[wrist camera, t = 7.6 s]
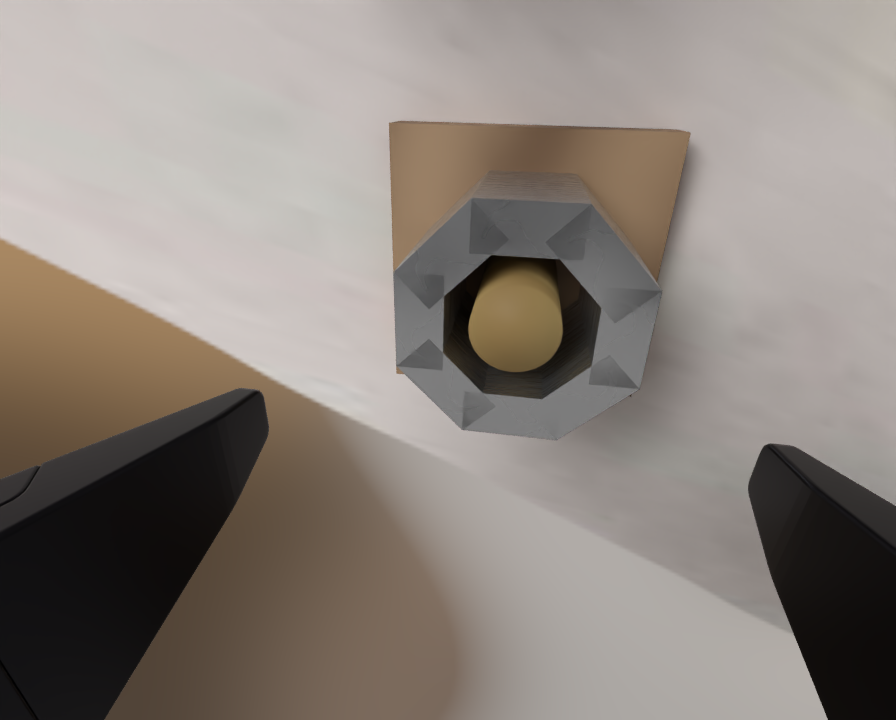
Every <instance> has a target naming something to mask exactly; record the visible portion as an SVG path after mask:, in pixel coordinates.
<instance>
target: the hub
mask: <svg viewBox="0 0 896 720" xmlns="http://www.w3.org/2000/svg"><path fill="white" fill-rule="evenodd" d="M491 255H500V256H516V257H532V258H547V259H560V260H561V261H562V262H563V264H564V265H565V266H566V267H567V268H568V269H569V271H570V272H571V273H572V274H573V275H574V276H575V278H576V279H577V280H578V281H579V282H580V290H579V296H578V299H577V300H575V301H574V302H573V303H571V304H570V305H569V306H567V307H566V308H565V309H563V310H562V311H561V316H562V326H563V334H562V339H561V343H560V345H559V347H558V349H557V351H556V352H555V354H554V355H553V356H552V357H551V358H550V359H549V360H548V361H547V362H546V363H544V364H543V365H541V366H539V367H537V368H535V369H532V370H529V371H524V372H508V371H503V370H500V369H497V368H495V367H493V366H491V365H489V364H488V363H486V362H485V361H484V360H482V359H481V358H480V357H479V355H478V354H477V353H476V352H475V350H474V348H473V346H472V344H471V341H470V338H469V331H468V326H469V320H470V316H471V313H472V310H473V306H474V303H475V299H474V298H473V297H472V296H471V295H470V294H469V293H468V292H467V291H466V284H467V276H468V275H469V274H470V273H471V272H473V271H474V270H475V269H476V268H477V267H478V266H479V265H481V264H482V263H483V262H484V261H485V260H486V259H487V258H489V257H490V256H491ZM393 276H394V307H395V338H396V366H397V367H398V368H399V369H400V370H401V371H402V372H403V373H404V374H405V375H406V376H407V377H408V378H409V379H410V380H411V381H412V382H413V383H414V384H415V385H416V386H417V387H419V388H420V389H421V390H422V391H423V392H424V393H425V394H426V395H427V396H428V397H429V398H430V399H431V400H432V401H433V402H434V403H435V404H436V405H437V406H438V407H439V408H440V409H441V410H442V411H443V412H444V413H445V414H446V415H447V416H448V417H449V418H451V419H452V420H453V421H454V422H455V423H456V424H457V425H458V426H459V427H460V428H461V429H462V430H468V431H477V432H486V433H495V434H505V435H514V436H523V437H532V438H541V439H550V440H558V439H559V438H561V437H562V436H564V435H566V434H567V433H569V432H571V431H572V430H574V429H575V428H577V427H579V426H580V425H582V424H584V423H585V422H587V421H588V420H590V419H592V418H593V417H595V416H597V415H598V414H600V413H602V412H603V411H605V410H606V409H608V408H610V407H611V406H613V405H615V404H616V403H618V402H619V401H621V400H623V399H624V398H626V397H628V396H629V395H631V394H632V393H634V392H636V391H637V390H639V389H640V385H641V381H642V376H643V372H644V368H645V363H646V359H647V355H648V350H649V346H650V342H651V337H652V333H653V329H654V324H655V320H656V316H657V311H658V307H659V302H660V298H661V294H662V290H661V288H660V287H659V285H658V284H657V282H656V280H655V279H654V277H653V276H652V274H651V273H650V271H649V269H648V268H647V266H646V265H645V263H644V262H643V260H642V258H641V257H640V255H639V254H638V252H637V251H636V249H635V248H634V246H633V244H632V243H631V241H630V240H629V238H628V237H627V236H626V235H625V233H624V232H623V231H622V230H621V228H620V227H619V226H618V225H617V223H616V222H615V221H614V220H613V218H612V217H611V216H610V215H609V213H608V212H607V211H606V210H605V208H604V207H603V206H602V205H601V203H600V202H599V201H598V200H597V198H596V197H595V196H594V195H593V193H592V192H591V191H590V190H589V188H588V187H587V186H586V185H585V184H584V182H583V181H582V180H581V179H580V177H579V176H578V175H577V174H572V173H548V172H524V171H500V170H489V171H488V172H487V173H486V174H485V175H484V176H483V177H482V178H481V179H480V180H479V181H478V182H477V183H476V184H475V185H474V186H473V187H472V188H471V189H470V190H469V191H468V192H467V193H466V194H465V195H464V196H463V197H461V198H460V199H459V200H458V201H457V202H456V203H455V204H454V205H453V206H452V207H451V208H450V209H449V210H448V211H447V212H446V213H445V214H444V215H443V216H442V217H441V218H440V219H439V220H438V221H437V222H436V223H435V224H434V225H432V226H431V227H430V228H429V230H428V231H427V232H426V233H425V235H424V236H423V237H422V238H421V239H420V241H419V242H418V243H417V244H416V245H415V247H414V248H413V249H412V250H411V251H410V253H409V254H408V255H407V256H406V258H405V259H404V260H403V261H402V262H401V264H400V265H399V266H398V267H397V268H396V270H395V271H394V272H393Z"/></svg>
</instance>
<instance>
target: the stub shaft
mask: <svg viewBox="0 0 896 720" xmlns="http://www.w3.org/2000/svg"><path fill="white" fill-rule="evenodd" d="M389 137H390V171H391V204H392V237H393V270H394V271H395V270H396V268H397V267H398V266H399V265H400V264H401V262H402V261H403V260H404V259H405V258H406V256H407V255H408V254H409V253H410V251H411V250H412V249H413V248H414V247H415V245H416V244H417V243H418V242H419V241H420V239H421V238H422V237H423V236H424V235H425V233H426V232H427V231H428V230H429V228H430V227H431V226H432V225H434V224H435V223H436V222H437V221H438V220H439V219H440V218H441V217H442V216H443V215H444V214H445V213H446V212H447V211H448V210H449V209H450V208H451V207H452V206H453V205H454V204H455V203H456V202H457V201H458V200H459V199H460V198H461V197H463V196H464V195H465V194H466V193H467V192H468V191H469V190H470V189H471V188H472V187H473V186H474V185H475V184H476V183H477V182H478V181H479V180H480V179H481V178H482V177H483V176H484V175H485V174H486V173H487V172H488V171H489V170H500V171H524V172H548V173H572V174H577V175H578V176H579V177H580V179H581V180H582V181H583V182H584V184H585V185H586V186H587V187H588V188H589V190H590V191H591V192H592V193H593V195H594V196H595V197H596V198H597V200H598V201H599V202H600V203H601V205H602V206H603V207H604V208H605V210H606V211H607V212H608V213H609V215H610V216H611V217H612V218H613V220H614V221H615V222H616V223H617V225H618V226H619V227H620V228H621V230H622V231H623V232H624V233H625V235H626V236H627V237H628V238H629V240H630V241H631V243H632V244H633V246H634V248H635V249H636V251H637V252H638V254H639V255H640V257H641V258H642V260H643V262H644V263H645V265H646V266H647V268H648V269H649V271H650V273H651V274H652V276H653V277H654V279H655V280H656V282H657V280H658V275H659V271H660V266H661V262H662V258H663V253H664V249H665V244H666V240H667V235H668V231H669V227H670V222H671V218H672V213H673V209H674V204H675V200H676V195H677V191H678V187H679V182H680V178H681V173H682V169H683V164H684V160H685V156H686V151H687V147H688V142H689V138H690V132H686V131H681V130H671V129H639V128H607V127H576V126H544V125H512V124H481V123H449V122H417V121H398V122H392V123H389ZM579 290H580V282H579V281H578V280H577V279H576V278H575V276H574V275H573V274H572V273H571V272H570V271H569V269H568V268H567V267H566V266H565V265H564V264H563V262H562V261H561V260H560V259H547V258H532V257H516V256H500V255H491V256H490V257H489V258H487V259H486V260H485V261H484V262H483V263H482V264H481V265H479V266H478V267H477V268H476V269H475V270H474V271H473V272H471V273H470V274H469V275H468V276H467V284H466V291H467V292H468V293H469V294H470V295H471V296H472V297H473V298H474V299H475V303H474V306H473V310H472V313H471V316H470V320H469V326H468V331H469V338H470V341H471V344H472V346H473V348H474V350H475V352H476V353H477V354H478V355H479V357H480V358H481V359H482V360H484V361H485V362H486V363H488V364H489V365H491V366H493V367H495V368H497V369H500V370H503V371H508V372H524V371H529V370H532V369H535V368H537V367H539V366H541V365H543V364H544V363H546V362H547V361H548V360H549V359H550V358H551V357H552V356H553V355H554V354H555V352H556V351H557V349H558V347H559V345H560V343H561V339H562V334H563V326H562V316H561V311H562V310H563V309H565V308H566V307H567V306H569V305H570V304H571V303H573V302H574V301H575V300H577V299H578V296H579ZM396 370H397V374H404V373H403V372H402V371H401V370H400V369H399V368H398V367H397V366H396ZM631 395H632V394H631ZM631 395H629V396H631Z"/></svg>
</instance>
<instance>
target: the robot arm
mask: <svg viewBox="0 0 896 720" xmlns="http://www.w3.org/2000/svg"><path fill="white" fill-rule="evenodd" d="M268 432H269V424H268V418H267V413H266V407H265V401H264V397H263V394H262V392H260V391H259V390H255V389H246V388H239V389H235V390H233V391H230V392H227V393H225V394H222V395H220V396H217V397H214V398H212V399H209V400H207V401H204V402H201V403H199V404H197V405H193V406H191V407H189V408H186V409H183V410H181V411H178V412H175V413H173V414H170V415H167V416H165V417H162V418H159V419H157V420H155V421H152V422H149V423H146V424H144V425H141V426H139V427H136V428H133V429H131V430H128V431H125V432H123V433H120V434H118V435H115V436H112V437H110V438H108V439H105V440H102V441H99V442H97V443H95V444H91V445H89V446H86V447H84V448H81V449H78V450H76V451H73V452H71V453H68V454H65V455H63V456H60V457H57V458H55V459H52V460H50V461H47V462H44V463H43V464H42V465H41V466H34V467H31V468H28V469H26V470H23V471H21V472H18V473H15V474H13V475H10V476H8V477H5V478H2V479H0V720H104V719H105V718H106V716H107V714H108V713H109V711H110V709H111V708H112V706H113V705H114V703H115V701H116V700H117V698H118V696H119V695H120V693H121V691H122V690H123V688H124V687H125V685H126V683H127V682H128V680H129V678H130V677H131V675H132V673H133V672H134V670H135V669H136V667H137V665H138V664H139V662H140V660H141V659H142V657H143V656H144V654H145V652H146V650H147V649H148V647H149V646H150V644H151V642H152V641H153V639H154V638H155V636H156V634H157V632H158V630H159V629H160V628H161V626H162V624H163V623H164V621H165V620H166V618H167V616H168V615H169V613H170V611H171V610H172V608H173V606H174V605H175V603H176V602H177V600H178V598H179V597H180V595H181V593H182V592H183V590H184V588H185V587H186V585H187V584H188V582H189V580H190V579H191V577H192V575H193V574H194V572H195V570H196V569H197V567H198V565H199V564H200V562H201V561H202V559H203V557H204V556H205V554H206V552H207V551H208V549H209V548H210V546H211V544H212V543H213V541H214V539H215V538H216V536H217V534H218V533H219V531H220V529H221V528H222V526H223V525H224V523H225V521H226V520H227V518H228V516H229V515H230V513H231V511H232V510H233V508H234V506H235V504H236V502H237V500H238V498H239V496H240V495H241V493H242V491H243V488H244V486H245V484H246V482H247V480H248V478H249V476H250V473H251V471H252V469H253V467H254V465H255V463H256V461H257V459H258V456H259V454H260V452H261V450H262V448H263V446H264V444H265V441H266V439H267V437H268ZM748 492H749V498H750V501H751V505H752V509H753V512H754V516H755V520H756V523H757V527H758V531H759V534H760V538H761V542H762V546H763V549H764V553H765V557H766V560H767V564H768V567H769V570H770V574H771V577H772V580H773V582H774V585H775V588H776V590H777V593H778V595H779V598H780V600H781V603H782V605H783V608H784V611H785V613H786V616H787V618H788V621H789V623H790V626H791V628H792V631H793V633H794V636H795V638H796V641H797V643H798V646H799V648H800V650H801V653H802V656H803V658H804V661H805V663H806V666H807V668H808V671H809V673H810V676H811V678H812V681H813V683H814V685H815V688H816V691H817V693H818V696H819V698H820V701H821V703H822V706H823V708H824V711H825V713H826V716H827V718H828V720H896V506H895V505H893V504H891V503H890V502H888V501H886V500H885V499H883V498H881V497H879V496H878V495H876V494H874V493H873V492H871V491H869V490H868V489H866V488H864V487H862V486H861V485H859V484H857V483H856V482H854V481H852V480H851V479H849V478H847V477H845V476H844V475H842V474H840V473H839V472H837V471H835V470H834V469H832V468H830V467H828V466H827V465H825V464H823V463H822V462H820V461H818V460H817V459H815V458H813V457H812V456H810V455H808V454H806V453H805V452H803V451H801V450H800V449H798V448H796V447H794V446H790V445H780V444H767V445H765V446H764V447H763V448H762V450H761V452H760V454H759V457H758V460H757V462H756V465H755V467H754V470H753V472H752V475H751V478H750V480H749V485H748Z"/></svg>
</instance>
